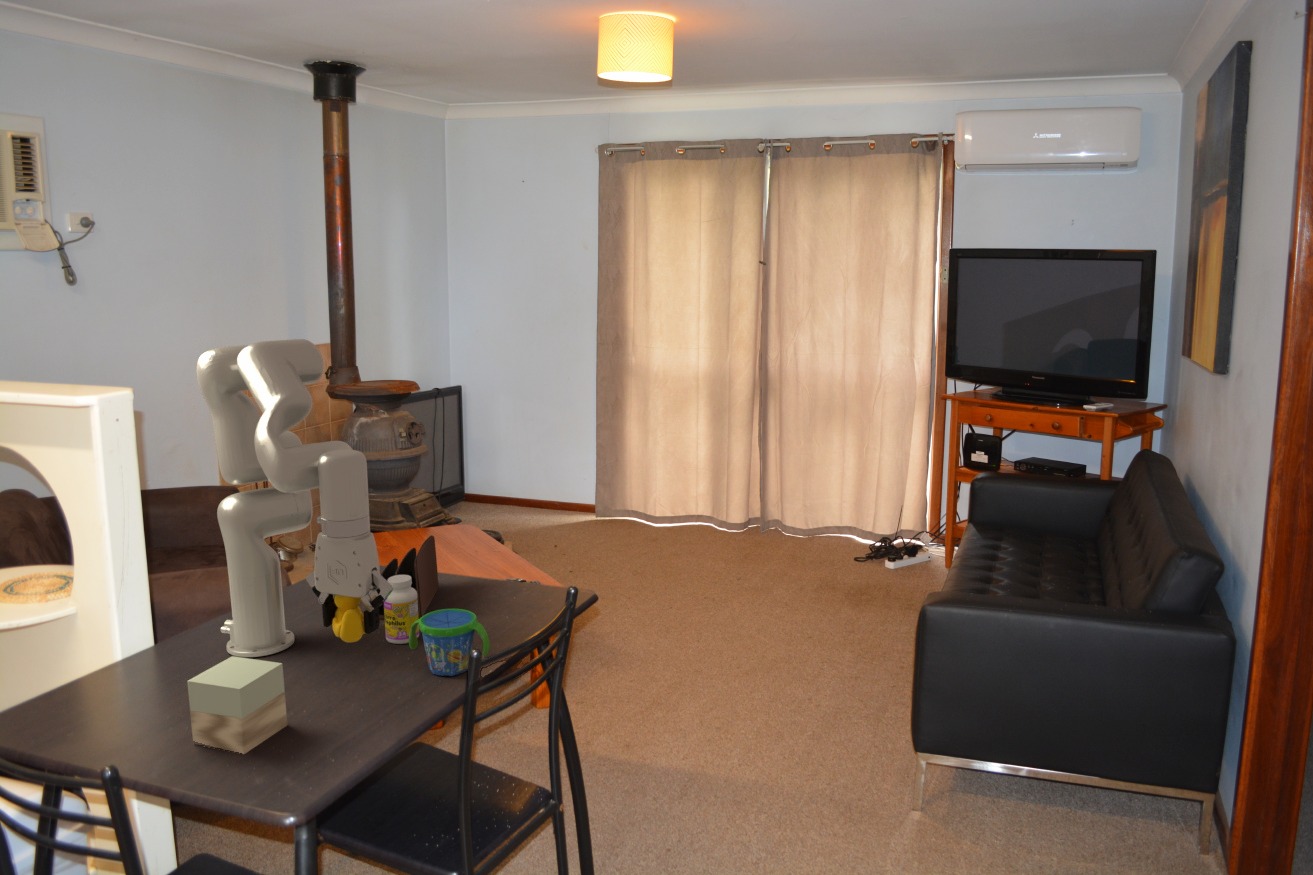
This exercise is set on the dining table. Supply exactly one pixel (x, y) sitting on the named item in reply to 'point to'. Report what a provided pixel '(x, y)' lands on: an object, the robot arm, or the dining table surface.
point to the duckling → (348, 619)
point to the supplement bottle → (400, 610)
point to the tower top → (236, 687)
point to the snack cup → (448, 639)
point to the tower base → (240, 727)
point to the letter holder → (416, 574)
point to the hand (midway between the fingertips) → (351, 626)
